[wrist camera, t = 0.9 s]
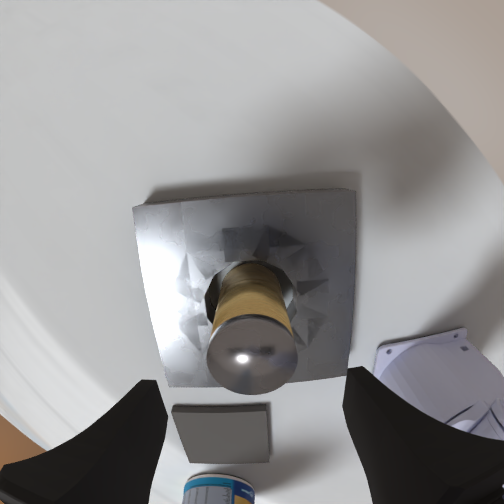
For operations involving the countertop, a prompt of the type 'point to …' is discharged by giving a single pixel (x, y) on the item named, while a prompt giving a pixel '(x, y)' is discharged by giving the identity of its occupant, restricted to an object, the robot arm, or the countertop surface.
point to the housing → (246, 249)
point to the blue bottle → (218, 490)
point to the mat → (223, 433)
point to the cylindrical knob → (251, 333)
